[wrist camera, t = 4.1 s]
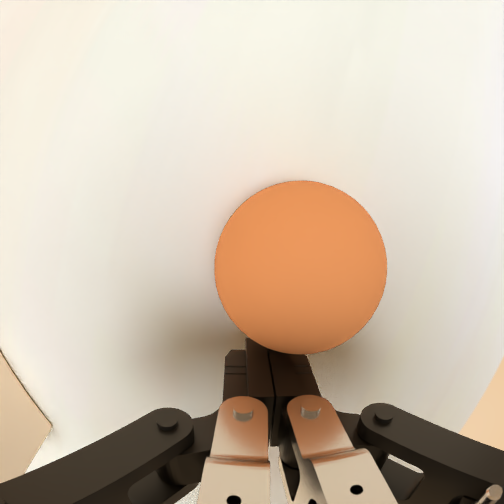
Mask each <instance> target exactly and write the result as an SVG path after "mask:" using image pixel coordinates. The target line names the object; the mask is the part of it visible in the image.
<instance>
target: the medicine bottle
mask: <svg viewBox="0 0 504 504" xmlns="http://www.w3.org/2000/svg"><path fill="white" fill-rule="evenodd" d="M51 428H52V426H51V424H50V423H49V421H48V420H47V419H46V418H45V416H44V415H43V414H42V413H41V411H40V410H39V409H38V407H37V406H36V405H35V403H34V402H33V401H32V399H31V398H30V397H29V395H28V394H27V392H26V391H25V390H24V388H23V387H22V385H21V384H20V382H19V381H18V379H17V378H16V376H15V375H14V373H13V372H12V370H11V369H10V367H9V365H8V364H7V362H6V361H5V359H4V357H3V356H2V354H1V352H0V483H3V482H5V481H8V480H11V479H13V478H16V477H18V476H21V475H23V474H24V473H25V472H26V470H27V468H28V467H29V465H30V463H31V462H32V460H33V458H34V457H35V455H36V453H37V452H38V450H39V448H40V447H41V445H42V444H43V442H44V440H45V439H46V437H47V436H48V434H49V432H50V431H51Z"/></svg>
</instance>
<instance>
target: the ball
mask: <svg viewBox="0 0 504 504" xmlns="http://www.w3.org/2000/svg"><path fill="white" fill-rule="evenodd" d="M386 276H387V258H386V252H385V247H384V243H383V240H382V237H381V234H380V232H379V230H378V228H377V226H376V224H375V223H374V221H373V219H372V218H371V216H370V215H369V214H368V213H367V211H366V210H365V209H364V208H363V207H362V206H361V205H360V204H359V203H358V202H357V201H356V200H354V199H353V198H352V197H350V196H349V195H347V194H346V193H344V192H343V191H341V190H338V189H336V188H334V187H332V186H329V185H326V184H323V183H319V182H312V181H289V182H284V183H280V184H276V185H273V186H270V187H268V188H265V189H263V190H262V191H260V192H258V193H256V194H254V195H253V196H252V197H250V198H249V199H247V200H246V201H245V202H244V203H243V204H242V205H241V206H240V207H239V208H238V209H237V210H236V211H235V212H234V214H233V215H232V216H231V217H230V219H229V220H228V222H227V224H226V225H225V227H224V229H223V231H222V234H221V236H220V238H219V242H218V245H217V248H216V255H215V281H216V287H217V291H218V295H219V297H220V300H221V302H222V304H223V307H224V309H225V311H226V312H227V314H228V315H229V317H230V319H231V320H232V321H233V322H234V323H235V325H236V326H237V327H238V328H239V329H240V330H241V331H242V332H243V333H244V334H246V335H247V336H248V337H249V338H250V339H252V340H253V341H255V342H257V343H259V344H260V345H262V346H264V347H266V348H269V349H271V350H274V351H278V352H282V353H288V354H313V353H318V352H323V351H326V350H329V349H332V348H334V347H336V346H339V345H341V344H342V343H344V342H346V341H347V340H349V339H350V338H352V337H353V336H354V335H355V334H356V333H358V332H359V331H360V330H361V329H362V328H363V327H364V326H365V325H366V323H367V322H368V321H369V320H370V319H371V317H372V315H373V314H374V312H375V310H376V309H377V307H378V305H379V302H380V300H381V298H382V295H383V292H384V288H385V284H386Z"/></svg>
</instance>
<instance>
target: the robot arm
mask: <svg viewBox="0 0 504 504" xmlns="http://www.w3.org/2000/svg"><path fill="white" fill-rule="evenodd" d="M269 439H270V446H279V452H280V455H279V461H278V465H279V469H280V473H281V477H282V481H283V485H284V489H285V493H286V497H287V501H288V504H504V451H502V450H500V449H497V448H494V447H491V446H488V445H486V444H483V443H480V442H477V441H475V440H472V439H470V438H467V437H465V436H462V435H460V434H457V433H455V432H452V431H450V430H447V429H445V428H442V427H440V426H438V425H435V424H433V423H431V422H428V421H426V420H424V419H421V418H419V417H417V416H415V415H412V414H410V413H408V412H406V411H403V410H401V409H399V408H397V407H395V406H392V405H389V404H385V403H375V404H371V405H369V406H367V407H365V408H364V409H363V410H362V412H361V415H359V414H349V413H342V412H339V411H336V410H334V408H333V406H332V404H331V403H330V402H329V401H328V400H326V399H324V398H322V397H321V395H320V392H319V389H318V386H317V384H316V381H315V378H314V375H313V374H312V370H311V367H310V364H309V361H308V359H307V357H306V356H305V355H304V354H288V353H282V352H278V351H274V350H271V349H269V348H266V347H264V346H262V345H260V344H259V343H257V342H255V341H253V340H252V339H250V338H249V337H246V339H245V350H231V351H230V352H229V353H228V355H227V356H226V357H225V372H224V389H223V402H222V404H221V405H220V407H219V409H218V410H217V411H216V412H214V413H213V414H211V415H208V416H205V417H200V418H194V419H191V417H190V416H189V415H188V414H187V413H186V412H184V411H182V410H179V409H176V408H161V409H157V410H154V411H152V412H150V413H148V414H147V415H145V416H143V417H141V418H139V419H138V420H136V421H134V422H132V423H130V424H128V425H127V426H125V427H123V428H121V429H119V430H117V431H115V432H113V433H112V434H110V435H108V436H106V437H104V438H102V439H100V440H98V441H96V442H94V443H92V444H90V445H88V446H86V447H84V448H82V449H80V450H78V451H75V452H73V453H71V454H69V455H67V456H65V457H63V458H60V459H58V460H56V461H54V462H52V463H49V464H47V465H45V466H42V467H40V468H38V469H35V470H33V471H31V472H28V473H26V474H23V475H21V476H18V477H16V478H13V479H11V480H8V481H5V482H3V483H0V504H174V503H176V502H177V501H179V500H180V499H181V498H183V497H184V496H185V495H187V494H188V493H189V492H191V491H192V490H193V489H194V488H195V487H197V485H198V484H199V482H201V484H200V489H199V494H198V499H197V504H270V461H268V447H269ZM389 454H391V455H393V456H395V457H397V458H399V459H401V460H403V461H405V462H407V463H409V464H412V465H414V466H416V467H418V468H420V469H421V470H422V471H423V472H424V473H417V472H415V471H413V470H411V469H409V468H406V467H404V466H402V465H400V464H398V463H396V462H394V461H392V460H390V459H388V456H389Z"/></svg>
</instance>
